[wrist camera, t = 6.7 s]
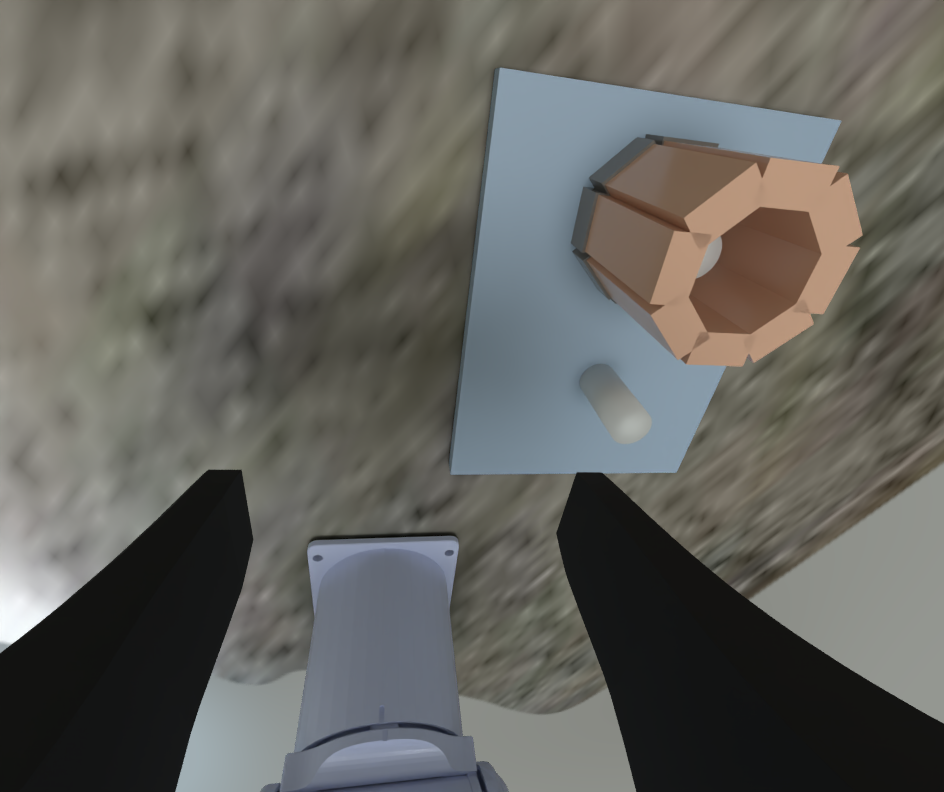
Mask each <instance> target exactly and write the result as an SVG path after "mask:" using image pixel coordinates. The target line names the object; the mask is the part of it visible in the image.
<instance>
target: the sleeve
mask: <svg viewBox="0 0 944 792" xmlns="http://www.w3.org/2000/svg"><path fill="white" fill-rule="evenodd" d="M718 146H719V144H718V143H711V142H704V141H697V140H689V139H681V138H674V137H666V136H658V135H650V134H646V136H645V138H639V137H637V138H635V139H634V140H633V141H632V142H631V143H629V144H628V145H627V146H626V147H625V148H623V149H622V150H621V151H620V152H619V153H617V154H616V155H615V156H614V157H613V158H611V159H610V160H609V161H608V162H607V163H606V164H604V165H603V166H602V167H601V168H600V169H598V170H597V171H596V172H595V173H594V174H592V175H591V176H590V177H589V179H590V181H591V183H592V185H593V186H594V188H592V187H583V190H582V194H581V199H580V203H579V208H578V212H577V217H576V221H575V226H574V230H573V235H572V239H571V244H572V245H573V246H575V247H576V249H574V250H573V251H572V252H573V254H574V255H575V257H576V258H577V260H578V261H579V263H580V264H581V266H582V267H583V269H584V270H585V272H586V273H587V275H588V276H589V278H590V279H591V281H592V282H593V284H594V285H595V287H596V288H597V289H598V290H599V291H600V292H601V293H602V294H603V295H604V296H605V297H606V298H607V299H608V300H610V299H611V300H612V301H613V302H614V303H615V304H618V305H619V306H620V307H621V308H622V309H623V310H624V311H626V312H627V313H628V314H629V315H630V316H631V317H632V318H633V319H634V320H635V321H636V322H637V323H638V324H639V325H641V326H642V327H643V328H644V329H645V330H646V331H647V332H648V333H649V334H650V335H651V336H652V337H653V338H655V339H656V340H657V341H658V342H659V343H660V344H661V345H662V346H663V347H664V348H665V349H666V350H667V351H669V352H670V353H671V354H672V355H673V356H674V357H675V358H676V359H677V360H679V359H681V360H682V361H683V362H684V363H685V364H686V365H715V366H743V364H744V362H745V360H746V358H748V359H749V360H750V361H752V362H753V363H754V362H756V361H757V360H759V359H760V358H762V357H764V356H765V355H767V354H768V353H770V352H771V351H773V350H774V349H776V348H777V347H779V346H781V345H782V344H784V343H785V342H787V341H788V340H790V339H791V338H793V337H794V336H796V335H798V334H799V333H801V332H802V331H804V330H805V329H807V328H808V327H810V326H811V325H813V324H814V323H813V320H812V317H811V315H810V313H815V314H824V312H825V310H826V308H827V306H828V305H829V303H830V301H831V299H832V297H833V296H834V294H835V292H836V290H837V288H838V287H839V285H840V283H841V281H842V279H843V278H844V276H845V274H846V272H847V270H848V269H849V267H850V265H851V263H852V261H853V259H854V258H855V256H856V254H857V252H858V250H859V249H860V247H857V246H854V245H851V244H850V243H852V242H853V241H855V240H856V239H857V238H859V237H860V236H862V235H863V234H862V230H861V226H860V222H859V218H858V214H857V210H856V205H855V201H854V197H853V193H852V189H851V185H850V181H849V177H848V174H847V173H841V172H837V171H838V169H839V167H840V166H835V165H828V164H822V163H815V162H809V161H802V160H796V159H790V158H783V157H777V156H770V155H764V154H758V153H751V152H745V151H738V150H732V149H725V148H719V147H718ZM720 236H721V239H722V250H721V254H720V257H719V259H718V261H717V262H716V264H715V265H714V266H713V268H712V269H711V270H710V271H708V272H707V273H706V274H704V275H703V276H701V277H699V278H696V277H697V274H698V271H699V269H700V266H701V263H702V261H703V258H704V256H705V253H706V250H707V248H708V245H709V244H710V243H711V242H713V241H714V240H716V239H717V238H718V237H720Z"/></svg>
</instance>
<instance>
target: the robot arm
mask: <svg viewBox="0 0 944 792" xmlns="http://www.w3.org/2000/svg"><path fill="white" fill-rule="evenodd" d="M556 534H557V538H558V543H559V547H560V552H561V556H562V560H563V564H564V568H565V572H566V575H567V578H568V581H569V584H570V587H571V589H572V592H573V595H574V597H575V600H576V603H577V606H578V608H579V611H580V614H581V616H582V619H583V621H584V624H585V627H586V629H587V632H588V635H589V637H590V640H591V642H592V645H593V648H594V650H595V653H596V656H597V658H598V661H599V664H600V666H601V669H602V671H603V674H604V677H605V680H606V683H607V686H608V689H609V692H610V695H611V698H612V702H613V705H614V709H615V713H616V716H617V720H618V724H619V727H620V731H621V734H622V737H623V741H624V745H625V748H626V752H627V757H628V761H629V764H630V768H631V772H632V776H633V780H634V784H635V788H636V792H944V724H943V723H942V722H940V721H938V720H936V719H934V718H932V717H930V716H928V715H927V714H925V713H923V712H921V711H920V710H918V709H916V708H914V707H913V706H911V705H909V704H908V703H906V702H904V701H902V700H900V699H899V698H897V697H896V696H894V695H892V694H890V693H889V692H887V691H885V690H883V689H882V688H880V687H878V686H876V685H875V684H873V683H872V682H870V681H868V680H867V679H865V678H863V677H862V676H860V675H858V674H857V673H855V672H853V671H852V670H850V669H849V668H847V667H845V666H844V665H842V664H841V663H839V662H837V661H836V660H834V659H833V658H831V657H830V656H828V655H827V654H825V653H824V652H822V651H821V650H819V649H818V648H816V647H814V646H813V645H811V644H810V643H808V642H807V641H805V640H804V639H802V638H801V637H799V636H798V635H796V634H795V633H793V632H792V631H790V630H789V629H788V628H786V627H785V626H783V625H782V624H780V623H779V622H778V621H776V620H775V619H773V618H772V617H770V616H769V615H768V614H767V613H765V612H764V611H763V610H761V609H760V608H758V607H757V606H756V605H754V604H753V603H752V602H750V601H749V600H748V599H746V598H745V597H744V596H742V595H741V594H740V593H738V592H737V591H736V590H734V589H733V588H732V587H731V586H729V585H728V584H727V583H726V582H724V581H723V580H722V579H721V578H719V577H718V576H717V575H716V574H715V573H713V572H712V571H711V570H710V569H709V568H707V567H706V566H705V565H704V564H702V563H701V562H700V561H699V560H698V559H696V558H695V557H694V556H693V555H692V554H691V553H690V552H688V551H687V550H686V549H685V548H684V547H683V546H681V545H680V544H679V543H678V542H677V541H676V540H675V539H674V538H672V537H671V536H670V535H669V534H668V533H667V532H666V531H665V530H664V529H663V528H661V527H660V526H659V525H658V524H657V523H656V522H655V521H654V520H653V519H652V518H651V517H649V516H648V515H647V514H646V513H645V512H644V511H643V510H642V509H641V508H640V507H639V506H638V505H637V504H636V503H634V502H633V501H632V500H631V499H630V498H629V497H628V496H627V495H626V494H625V493H624V492H623V491H622V490H621V489H620V488H618V487H617V486H616V485H615V484H614V483H613V482H612V481H611V480H610V479H609V478H607V477H606V476H605V475H604V474H603V473H602V472H577V473H576V476H575V479H574V482H573V485H572V488H571V491H570V494H569V497H568V500H567V503H566V506H565V509H564V512H563V515H562V518H561V521H560V524H559V527H558V530H557V533H556ZM252 543H253V535H252V529H251V523H250V517H249V512H248V506H247V500H246V494H245V488H244V482H243V476H242V470H208V471H206V472H205V473H204V474H203V475H202V476H201V477H200V478H199V479H198V480H197V481H196V482H195V483H194V484H193V485H192V486H191V487H190V488H189V489H188V490H186V491H185V492H184V493H183V494H182V495H181V496H180V497H179V498H178V499H177V500H176V501H175V502H174V503H173V504H172V505H171V506H170V507H169V508H168V509H167V510H166V511H165V512H164V513H163V514H162V515H161V516H160V517H159V518H158V519H157V520H156V521H155V522H154V523H153V524H152V525H151V526H150V527H148V528H147V529H146V530H145V531H144V532H143V533H142V534H141V535H140V536H139V537H138V538H137V539H136V540H134V541H133V542H132V543H131V544H130V545H129V546H128V547H127V548H126V549H125V550H124V551H123V552H122V553H120V554H119V555H118V556H117V557H116V558H115V559H114V560H113V561H112V562H111V563H109V564H108V565H107V566H106V567H105V568H104V569H103V570H101V571H100V572H99V573H98V574H97V575H96V576H94V577H93V578H92V579H91V580H90V581H89V582H87V583H86V584H85V585H84V586H83V587H82V588H80V589H79V590H78V591H77V592H76V593H75V594H74V595H72V596H71V597H70V598H69V599H68V600H67V601H65V602H64V603H63V604H62V605H61V606H59V607H58V608H57V609H56V610H55V611H53V612H52V613H51V614H50V615H48V616H47V617H46V618H45V619H43V620H42V621H41V622H40V623H39V624H37V625H36V626H35V627H33V628H32V629H31V630H30V631H28V632H27V633H26V634H25V635H23V636H22V637H21V638H20V639H18V640H17V641H16V642H14V643H13V644H12V645H10V646H9V647H8V648H6V649H5V650H4V651H3V652H1V653H0V792H175V790H176V787H177V783H178V779H179V775H180V772H181V768H182V764H183V760H184V757H185V753H186V749H187V745H188V741H189V738H190V734H191V731H192V728H193V725H194V722H195V719H196V715H197V712H198V709H199V706H200V703H201V700H202V698H203V695H204V692H205V690H206V687H207V684H208V681H209V679H210V676H211V673H212V670H213V668H214V665H215V662H216V659H217V657H218V654H219V651H220V648H221V646H222V643H223V640H224V637H225V635H226V632H227V629H228V626H229V623H230V621H231V618H232V615H233V612H234V609H235V607H236V604H237V601H238V598H239V595H240V592H241V589H242V586H243V582H244V578H245V574H246V570H247V565H248V561H249V556H250V552H251V547H252ZM458 549H459V543H458V539H457V538H456V537H454V536H426V537H396V538H366V539H336V540H315V541H312V542H310V543H309V544H308V550H307V555H308V564H309V573H310V582H311V590H312V599H313V608H314V616H315V619H314V626H313V632H312V639H311V645H310V651H309V658H308V664H307V671H306V678H305V684H304V690H303V697H302V703H301V710H300V716H299V723H298V729H297V736H296V742H295V750H294V753H288V754H287V755H286V756H285V763H284V769H283V774H282V781H281V784H280V783H275V784H268V785H266V786H264V787H263V788H262V789H261V791H260V792H509V791H508V788H507V786H506V784H505V783H504V781H503V780H502V778H501V777H500V776H499V775H498V774H497V773H496V771H495V770H494V768H493V767H492V765H491V764H490V763H489V762H485V761H480V762H476V758H475V750H474V742H473V737H472V736H463V734H462V724H461V714H460V706H459V695H458V686H457V676H456V667H455V657H454V648H453V639H452V629H451V620H450V610H449V609H450V602H451V595H452V589H453V582H454V576H455V569H456V562H457V556H458Z"/></svg>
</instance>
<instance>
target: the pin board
mask: <svg viewBox="0 0 944 792" xmlns="http://www.w3.org/2000/svg"><path fill="white" fill-rule="evenodd" d="M840 123H841V121H840V120H833V119H827V118H821V117H814V116H808V115H801V114H795V113H788V112H782V111H776V110H769V109H763V108H756V107H750V106H744V105H737V104H731V103H724V102H718V101H711V100H705V99H699V98H692V97H686V96H679V95H673V94H666V93H660V92H654V91H647V90H641V89H634V88H628V87H621V86H615V85H609V84H602V83H596V82H589V81H583V80H576V79H570V78H564V77H557V76H551V75H544V74H538V73H531V72H525V71H519V70H512V69H506V68H497V69H495V73H494V82H493V90H492V99H491V107H490V116H489V125H488V133H487V142H486V150H485V159H484V167H483V176H482V184H481V193H480V202H479V210H478V219H477V227H476V236H475V244H474V253H473V262H472V270H471V279H470V287H469V296H468V304H467V313H466V321H465V330H464V339H463V347H462V356H461V364H460V373H459V381H458V390H457V398H456V407H455V416H454V424H453V433H452V441H451V450H450V458H449V468H450V475H468V474H576V473H577V472H602V473H676V472H677V470H678V468H679V466H680V464H681V462H682V459H683V457H684V455H685V453H686V451H687V449H688V447H689V445H690V442H691V440H692V438H693V436H694V434H695V432H696V430H697V428H698V425H699V423H700V421H701V419H702V417H703V415H704V413H705V411H706V408H707V406H708V404H709V402H710V400H711V398H712V396H713V393H714V391H715V389H716V387H717V385H718V383H719V381H720V379H721V376H722V374H723V372H724V370H725V368H726V366H715V365H686V364H685V363H684V362H683V361H682V360H681V359H679V360H677V359H676V358H675V357H674V356H673V355H672V354H671V353H670V352H669V351H667V350H666V349H665V348H664V347H663V346H662V345H661V344H660V343H659V342H658V341H657V340H656V339H655V338H653V337H652V336H651V335H650V334H649V333H648V332H647V331H646V330H645V329H644V328H643V327H642V326H641V325H639V324H638V323H637V322H636V321H635V320H634V319H633V318H632V317H631V316H630V315H629V314H628V313H627V312H626V311H624V310H623V309H622V308H621V307H620V306H619V305H618V304H615V303H614V302H613V301H612V300H611V299H610V300H608V299H607V298H606V297H605V296H604V295H603V294H602V293H601V292H600V291H599V290H598V289H597V288H596V287H595V285H594V284H593V282H592V281H591V279H590V278H589V276H588V275H587V273H586V272H585V270H584V269H583V267H582V266H581V264H580V263H579V261H578V260H577V258H576V257H575V255H574V254H573V252H572V251H573V250H574V249H576V247H575V246H573V245H572V244H571V239H572V235H573V230H574V226H575V221H576V217H577V212H578V208H579V203H580V199H581V194H582V190H583V187H592V188H594V186H593V185H592V183H591V181H590V179H589V177H590V176H591V175H592V174H594V173H595V172H596V171H597V170H598V169H600V168H601V167H602V166H603V165H604V164H606V163H607V162H608V161H609V160H610V159H611V158H613V157H614V156H615V155H616V154H617V153H619V152H620V151H621V150H622V149H623V148H625V147H626V146H627V145H628V144H629V143H631V142H632V141H633V140H634V139H635V138H637V137H639V138H645V136H646V134H650V135H658V136H666V137H674V138H681V139H689V140H697V141H704V142H711V143H718V144H719V146H718V147H719V148H725V149H732V150H738V151H745V152H751V153H758V154H764V155H770V156H777V157H783V158H790V159H796V160H802V161H809V162H815V163H822V161H823V159H824V157H825V155H826V153H827V151H828V149H829V146H830V144H831V142H832V140H833V138H834V136H835V134H836V132H837V129H838V127H839V125H840ZM721 250H722V239H721V236H720V237H718V238H717V239H716V240H714V241H713V242H711V243H710V244H709V245H708V248H707V250H706V253H705V256H704V258H703V261H702V263H701V266H700V269H699V271H698V274H697V277H696V278H699V277H701V276H703V275H704V274H706V273H707V272H708V271H710V270H711V269H712V268H713V266H714V265H715V264H716V262H717V261H718V259H719V257H720V254H721Z"/></svg>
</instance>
